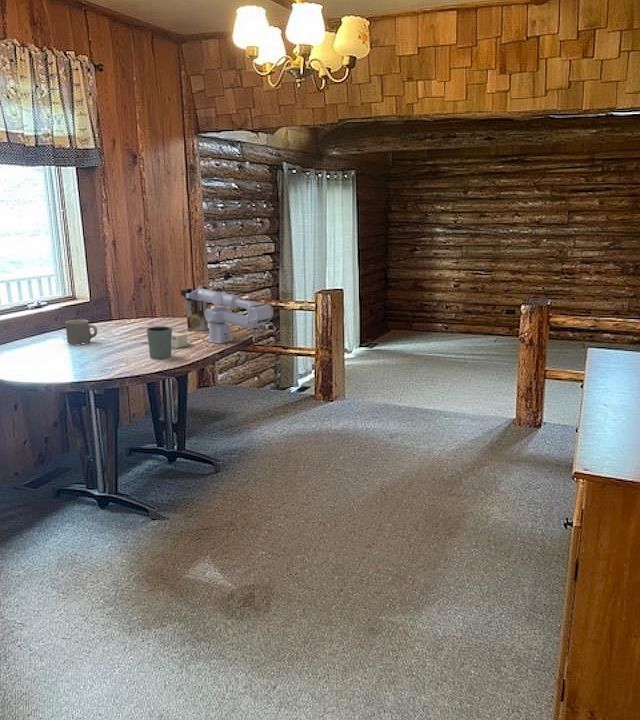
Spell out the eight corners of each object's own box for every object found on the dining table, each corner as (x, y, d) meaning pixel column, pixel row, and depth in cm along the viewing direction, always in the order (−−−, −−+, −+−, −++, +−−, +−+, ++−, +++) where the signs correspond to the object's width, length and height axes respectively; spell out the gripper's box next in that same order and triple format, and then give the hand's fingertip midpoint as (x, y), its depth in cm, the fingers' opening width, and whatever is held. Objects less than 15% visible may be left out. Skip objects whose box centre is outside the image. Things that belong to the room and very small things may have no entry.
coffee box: (208, 328, 326) (206, 297, 322) (204, 331, 319) (203, 299, 316) (191, 328, 326) (189, 297, 323) (187, 331, 320) (185, 299, 317)
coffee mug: (63, 345, 290) (61, 323, 288) (73, 340, 299) (71, 319, 297) (92, 345, 289) (90, 323, 287) (101, 340, 299) (99, 319, 296)
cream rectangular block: (187, 345, 284) (186, 334, 283) (178, 347, 280) (177, 336, 279) (173, 342, 290) (172, 331, 289) (164, 344, 286) (163, 333, 285)
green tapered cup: (152, 354, 269) (150, 326, 266) (176, 354, 268) (174, 326, 266) (145, 359, 259) (143, 330, 256) (170, 359, 259) (168, 330, 256)
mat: (193, 345, 286) (193, 344, 286) (174, 349, 277) (174, 348, 277) (160, 339, 300) (160, 338, 300) (141, 343, 292) (140, 342, 292)
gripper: (218, 285, 297) (199, 282, 305) (195, 288, 286) (175, 284, 294) (218, 300, 299) (199, 296, 307) (195, 304, 288) (175, 299, 296)
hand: (187, 291), depth 301 cm, fingers open, 7 cm apart
